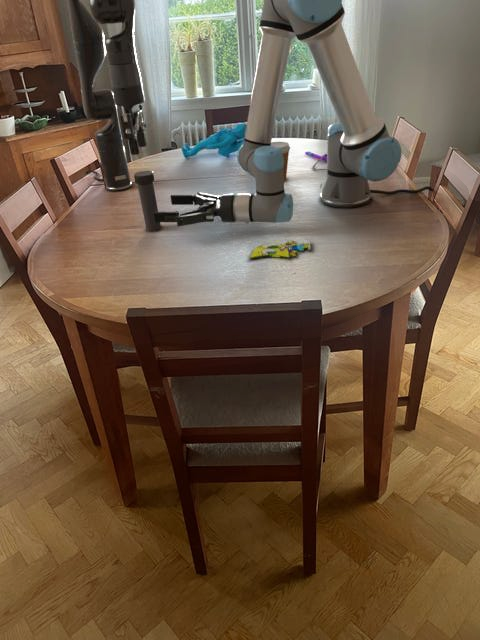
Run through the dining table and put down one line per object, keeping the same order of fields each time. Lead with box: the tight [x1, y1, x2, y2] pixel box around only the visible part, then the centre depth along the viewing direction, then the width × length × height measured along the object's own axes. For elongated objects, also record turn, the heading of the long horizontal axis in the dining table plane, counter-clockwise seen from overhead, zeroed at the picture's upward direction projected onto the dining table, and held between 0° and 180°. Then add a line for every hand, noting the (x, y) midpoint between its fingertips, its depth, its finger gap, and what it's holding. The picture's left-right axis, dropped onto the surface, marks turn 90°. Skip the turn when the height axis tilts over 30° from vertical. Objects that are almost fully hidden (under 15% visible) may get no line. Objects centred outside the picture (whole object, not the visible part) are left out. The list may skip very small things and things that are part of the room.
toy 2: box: [249, 240, 312, 260], centre depth 122 cm, size 10×1×15 cm
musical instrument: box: [304, 151, 327, 171], centre depth 185 cm, size 24×2×20 cm
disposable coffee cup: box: [271, 141, 291, 181], centre depth 169 cm, size 10×10×12 cm
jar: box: [137, 181, 162, 233], centre depth 137 cm, size 4×4×16 cm
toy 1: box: [180, 123, 247, 159], centre depth 204 cm, size 17×11×30 cm
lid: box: [133, 170, 155, 185], centre depth 133 cm, size 5×5×2 cm
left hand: (139, 150), depth 129 cm, fingers open, 7 cm apart
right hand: (163, 208), depth 136 cm, fingers open, 13 cm apart
